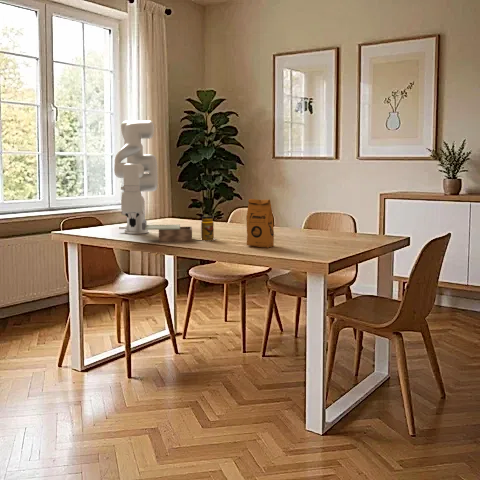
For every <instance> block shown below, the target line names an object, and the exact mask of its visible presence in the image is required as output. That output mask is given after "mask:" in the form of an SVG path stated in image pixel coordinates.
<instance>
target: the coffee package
mask: <svg viewBox="0 0 480 480" xmlns="http://www.w3.org/2000/svg"><path fill="white" fill-rule="evenodd" d="M272 209H273V208H272V204H271V199H270V198H269V199H257V198H249V199H248V206H247V210H246V211H247V212H246V218H245V219H246V246H250V247H254V248H266V249H270V248H272V247H274V246H275V244H274V243H275V238H274V237H275V234H274V233H275V231H274V217H273V210H272ZM269 247H270V248H269Z"/></svg>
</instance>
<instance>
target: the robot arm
mask: <svg viewBox="0 0 480 480" xmlns="http://www.w3.org/2000/svg"><path fill="white" fill-rule="evenodd" d="M120 127H121V128H120V129H121V134H122V135H121V136H122V137H123V140H124V141H123V142H124V145H123V146H122V148H121V149H119V150H118V151H117V154H116V155H115V157H114V167H113V168H114V169H113V170H114V175H115V176H116V178H118V179H123V186H120V191H121V190H122V191H123V192H122V193H121V205H120V208H121V209H120V211H121V213H120V215H122V216H126V224H124V225H118V229H119V230H124V234H126V235H128V234H129V235H140V234H141V235H142V234H147V233H149V230H142V222H143V220H146V204H145V198H144V197H143V195H142V192H155V191H157V189H158V186H159V185H158V183H159V181H158V180H159V179H158V161H157V157H156V155H155V154H151V153H144V147H143V143H142V140H143V139H144V140H145V139H146V140H147V139H152V138H153V137H154V134H155V124H154V122H153V120H147V119H146V120H143V119H142V120H141V119H140V120H139V119H138V120H137V119H135V120H134V119H132V120H131V119H130V120H124V121H123V122H122V123H121V125H120ZM125 159H126V162H122V161H124V160H125Z"/></svg>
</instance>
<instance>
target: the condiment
mask: <svg viewBox="0 0 480 480" xmlns="http://www.w3.org/2000/svg"><path fill="white" fill-rule="evenodd" d="M200 224H201V226H200V229H201V230H200V231H201V233H200V235H201V237H200V238H202V240H205V241H204V242H212V241H211V240H213V241H215V240H216V238H215V237H214V233H215V232H214V230H215V229H214V227H215V226H214V219H213V216H212V215H202V216H201V222H200Z"/></svg>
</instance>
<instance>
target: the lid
mask: <svg viewBox="0 0 480 480" xmlns="http://www.w3.org/2000/svg"><path fill="white" fill-rule="evenodd" d="M147 222H148V221H147V220H146V219H145V220H143V222H142V230H148V231H150V230H151V231H152V230H153V231H155V230H157V231H159V230H167V229H180V227H181V224H147Z"/></svg>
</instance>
